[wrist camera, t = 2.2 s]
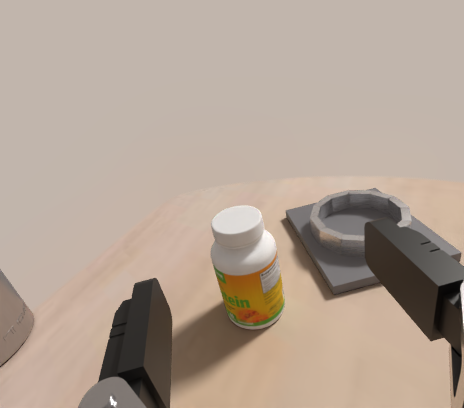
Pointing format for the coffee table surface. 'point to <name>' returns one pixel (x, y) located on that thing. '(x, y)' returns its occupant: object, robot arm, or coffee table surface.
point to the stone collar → (354, 199)
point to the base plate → (350, 223)
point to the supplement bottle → (247, 267)
